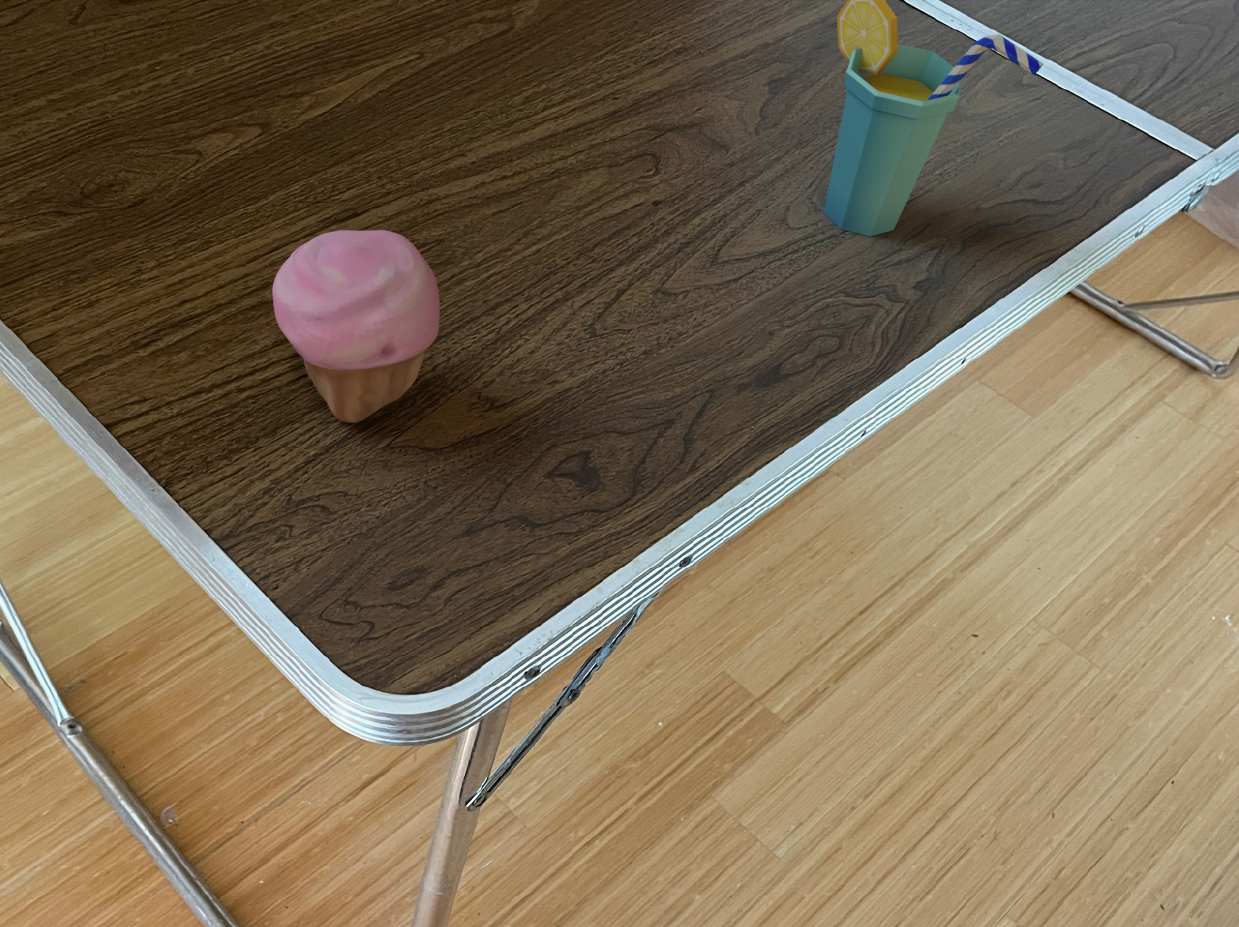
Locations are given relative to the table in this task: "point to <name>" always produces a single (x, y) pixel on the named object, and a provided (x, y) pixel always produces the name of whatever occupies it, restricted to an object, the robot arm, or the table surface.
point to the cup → (891, 114)
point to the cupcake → (358, 316)
